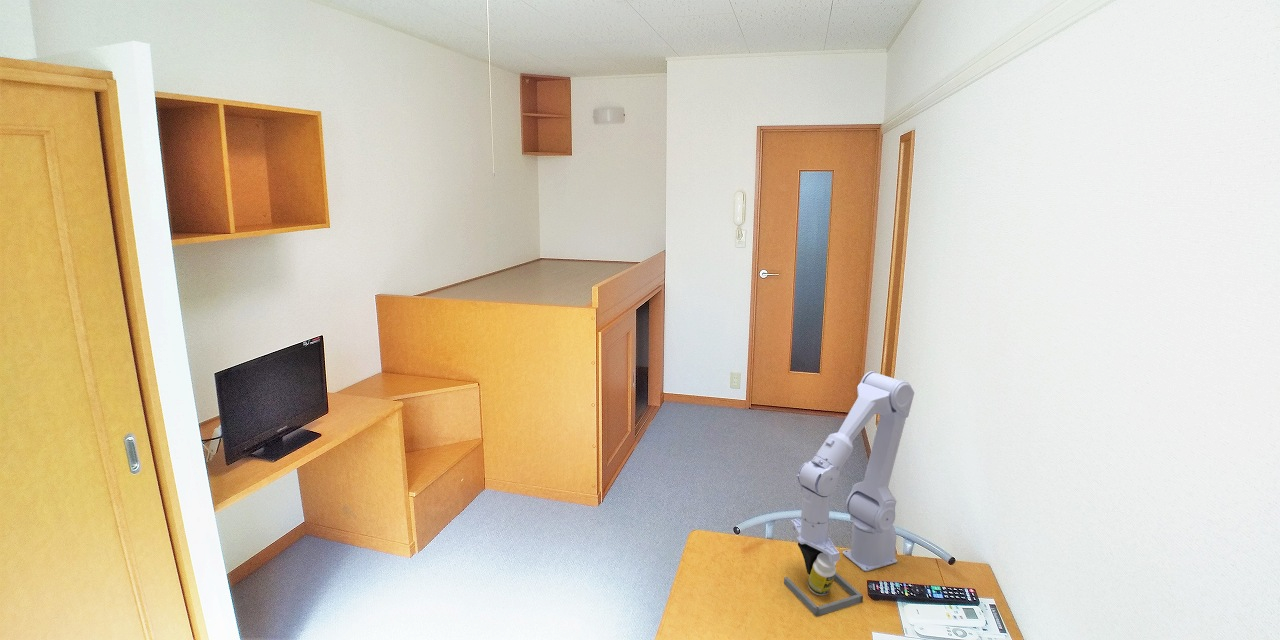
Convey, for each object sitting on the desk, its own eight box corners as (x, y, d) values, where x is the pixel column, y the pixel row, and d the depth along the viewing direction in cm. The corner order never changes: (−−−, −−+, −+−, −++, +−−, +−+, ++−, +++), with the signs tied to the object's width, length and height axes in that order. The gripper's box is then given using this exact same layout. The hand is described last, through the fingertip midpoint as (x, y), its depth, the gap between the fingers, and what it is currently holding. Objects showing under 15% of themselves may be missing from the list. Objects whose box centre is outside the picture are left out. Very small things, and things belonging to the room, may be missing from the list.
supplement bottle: (823, 600, 134) (831, 573, 130) (803, 586, 136) (811, 559, 132) (833, 586, 137) (842, 559, 133) (813, 573, 139) (822, 547, 135)
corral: (827, 570, 143) (827, 565, 143) (862, 602, 132) (863, 595, 132) (783, 583, 139) (784, 577, 139) (816, 616, 128) (816, 610, 128)
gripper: (780, 504, 140) (778, 559, 144) (820, 538, 127) (817, 597, 130) (806, 498, 143) (804, 552, 146) (849, 531, 130) (845, 589, 133)
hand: (812, 573), depth 138 cm, fingers closed
